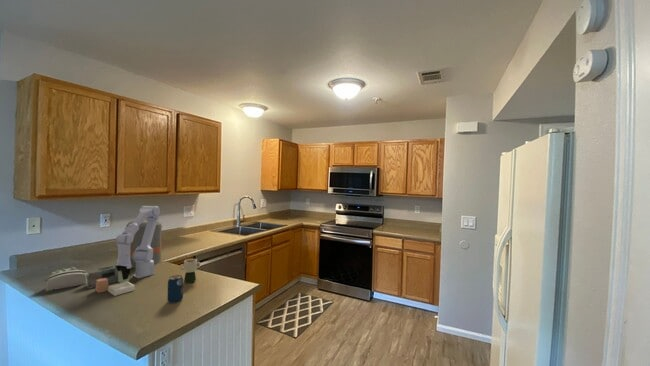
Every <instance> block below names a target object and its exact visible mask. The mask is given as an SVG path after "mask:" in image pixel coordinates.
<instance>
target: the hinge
mask: <svg viewBox="0 0 650 366" xmlns="http://www.w3.org/2000/svg"><path fill="white" fill-rule="evenodd" d="M46 281H47V282H46V284H45V285H46V286H45V292H49V291H53V289H55V290H59V289H65V288H70V287H75V286H80V285H85V284H88V279H87V275H86V271H85V270H83V269H82V270H81V269H78V270H71V271H65V272H60V273H57V274H52V275H49V276H48V278H47V280H46ZM48 290H49V291H48Z"/></svg>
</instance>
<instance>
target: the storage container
mask: <svg viewBox="0 0 650 366" xmlns="http://www.w3.org/2000/svg"><path fill="white" fill-rule="evenodd" d="M134 221H135V219H134V220H133V219H132V220H131V221H129V222H128V223H127V224H126V225H125V226H126V227H125V228H124V230H125V229H126V228H127V227H128V225H129V224H132V223H133V222H134ZM146 225H147V220H146V219H145V220H144V221H143V222H142V223H141V224H140V225H139V230H138V231H137V232H136V234H135V235H134V238H133V242H132V243H131V246H130V261H131V265H132V269H134V268H135V269H136V262H135V261H134V260H133V258H132V256H133V253H134V252H135V250H136V248H137V247H139V246H140V245H141V242H142V238H143V235H144V231H145V228H146ZM162 229H163V225H162V222H161V221H160V220H159V219H158V220H157V223H156V227H155V230H154V234H153V238H152V241H151V245H150V247H151V248H152V249H153V258H152V259H151V260H153V261H154V266H155V265H157V263H158V264H160V263H161V262H162ZM143 251H144V250H143ZM159 262H160V263H159Z"/></svg>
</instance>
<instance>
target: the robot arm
mask: <svg viewBox="0 0 650 366" xmlns="http://www.w3.org/2000/svg"><path fill="white" fill-rule="evenodd" d="M160 214H161V209H160V207H159V206H158V205H142V206H141V207H140V209H139V210H138V215H137V217H136V218H135V219H134V220H135V221H134V222H133V223H132V224H129V225H128V227H127V228H126V227H125V228H126V229H125V228H124V231H122V233H119V234H118V235H117V236H116V238H115V239H114V240H115V244H116V247H117V260H116V263H115V264H114V265H115V266H116V268H117V270H118V271H121V272H122V277H123V280H125V279H128V277H129V278H130V273H131V271H132V269H133V268H132V265H131V261H130V246H131V243H132V242H133V238H134V235H135V234H136V232H137V231H138V230H139V225H140V224H141V223H142V222H143V221H144V220H145V219H146V220H147V225H146V228H145V231H144V235H143V238H142V242H141V245H140V246H139V247H137V248H136V250H135V252H134V253H133V256H132V258H133V260H134V261H135V262H136V268H135V273H134V274H132V277H135V278H137V279H142V278H145V277H149V276H152V275H155V265H154V261H153V260H151V259H152V258H153V249H152V248H151V247H150V245H151V241H152V238H153V234H154V230H155V227H156V223H157V220H158V221H159V219H160ZM143 250H144V251H143Z"/></svg>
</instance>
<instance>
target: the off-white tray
mask: <svg viewBox="0 0 650 366" xmlns="http://www.w3.org/2000/svg"><path fill="white" fill-rule="evenodd" d="M135 288H136V287H135V284H133V283H131V282H130V281H127V282H123V283H120V282H119V283H115V284H112V285H108V291H107V292H108V293H110V294H111V295H113V297H115V296H119V295H123V294H126V293H130V292H134V291H135Z"/></svg>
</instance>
